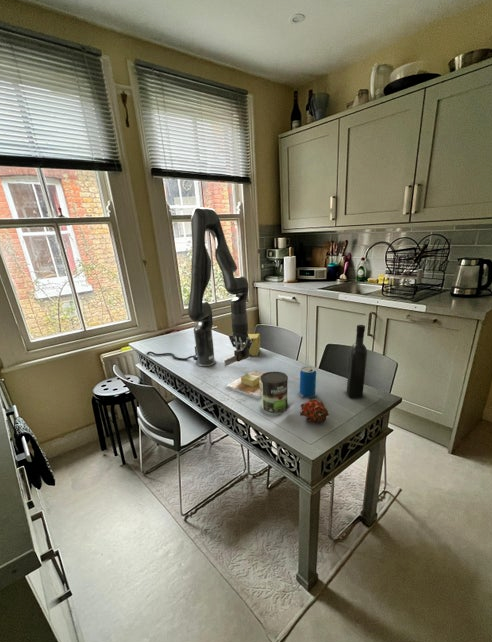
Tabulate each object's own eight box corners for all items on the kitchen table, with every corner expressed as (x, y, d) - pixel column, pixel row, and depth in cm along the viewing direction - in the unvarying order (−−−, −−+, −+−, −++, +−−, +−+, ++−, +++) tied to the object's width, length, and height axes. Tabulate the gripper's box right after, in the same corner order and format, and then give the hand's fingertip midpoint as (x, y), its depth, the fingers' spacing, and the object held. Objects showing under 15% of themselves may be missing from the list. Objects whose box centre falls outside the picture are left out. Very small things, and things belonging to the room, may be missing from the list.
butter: (241, 382, 144) (240, 376, 143) (247, 379, 147) (247, 373, 146) (253, 386, 140) (252, 380, 138) (259, 382, 143) (259, 376, 142)
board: (226, 388, 143) (226, 385, 142) (254, 372, 157) (254, 369, 156) (257, 399, 132) (257, 396, 132) (284, 381, 146) (284, 378, 146)
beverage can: (311, 400, 130) (312, 373, 125) (297, 396, 133) (297, 370, 128) (317, 393, 135) (318, 367, 130) (303, 390, 138) (304, 365, 133)
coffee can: (292, 411, 122) (292, 379, 117) (268, 418, 119) (267, 385, 113) (280, 399, 131) (279, 369, 125) (257, 406, 127) (256, 374, 122)
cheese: (257, 356, 176) (256, 339, 172) (238, 355, 178) (237, 338, 174) (260, 349, 185) (260, 333, 181) (242, 349, 188) (242, 333, 183)
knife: (223, 365, 145) (222, 355, 143) (245, 355, 157) (245, 346, 155) (227, 367, 144) (226, 356, 142) (249, 356, 155) (248, 347, 153)
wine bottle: (345, 391, 135) (351, 323, 123) (359, 391, 135) (366, 323, 122) (349, 398, 130) (355, 328, 117) (363, 398, 129) (371, 327, 117)
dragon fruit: (325, 432, 112) (302, 421, 122) (337, 412, 114) (313, 404, 124) (314, 420, 107) (290, 410, 117) (327, 399, 110) (302, 391, 119)
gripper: (256, 321, 144) (258, 356, 151) (233, 317, 152) (236, 351, 159) (245, 325, 139) (248, 362, 146) (223, 321, 147) (226, 356, 154)
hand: (241, 356), depth 152 cm, fingers closed on knife, 2 cm apart
